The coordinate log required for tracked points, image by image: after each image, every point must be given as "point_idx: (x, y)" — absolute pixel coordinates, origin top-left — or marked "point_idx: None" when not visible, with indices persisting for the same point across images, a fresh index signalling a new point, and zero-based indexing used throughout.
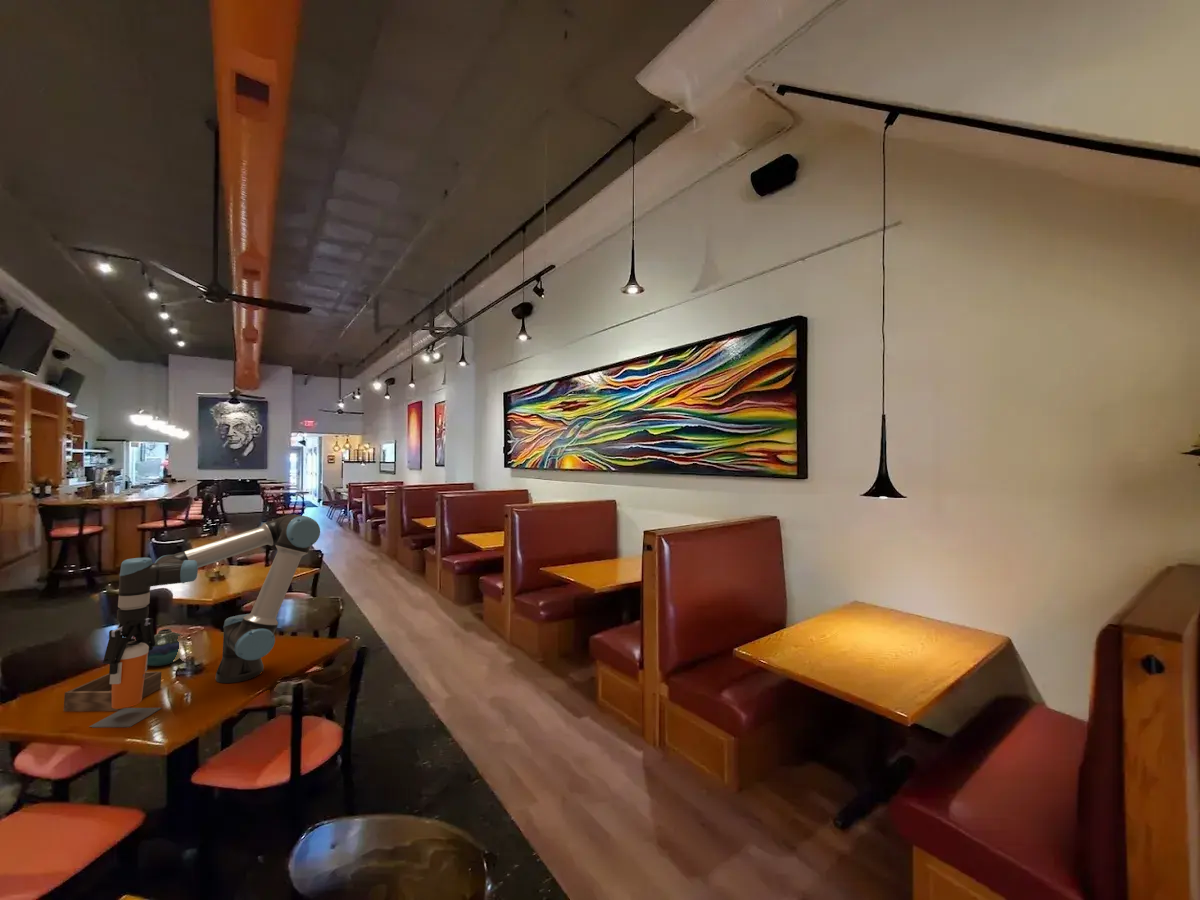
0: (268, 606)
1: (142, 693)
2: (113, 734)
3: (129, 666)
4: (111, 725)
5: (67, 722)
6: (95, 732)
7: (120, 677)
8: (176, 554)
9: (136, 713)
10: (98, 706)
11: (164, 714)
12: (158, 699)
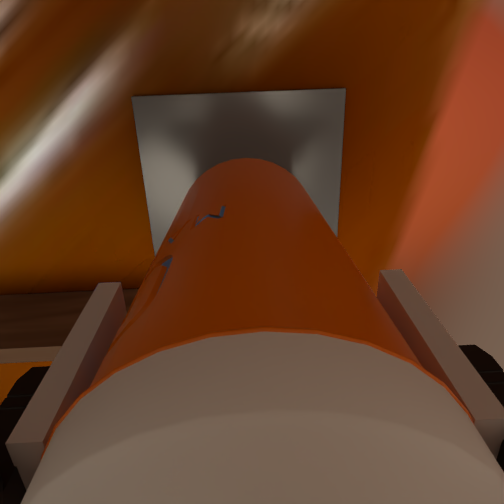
0: None
1: (38, 305)
2: (412, 108)
3: (389, 321)
4: (331, 189)
5: None
6: (381, 210)
7: (404, 299)
8: None
9: None
10: None
11: (195, 12)
12: (39, 207)
